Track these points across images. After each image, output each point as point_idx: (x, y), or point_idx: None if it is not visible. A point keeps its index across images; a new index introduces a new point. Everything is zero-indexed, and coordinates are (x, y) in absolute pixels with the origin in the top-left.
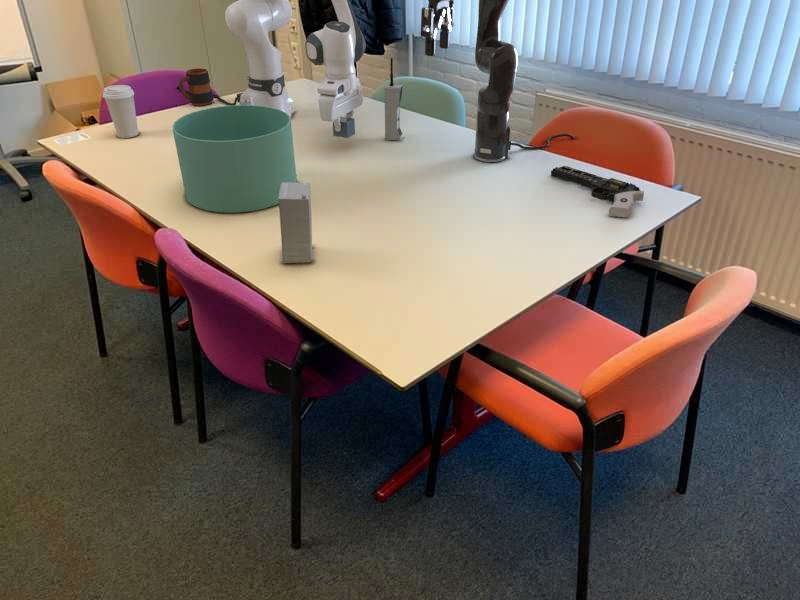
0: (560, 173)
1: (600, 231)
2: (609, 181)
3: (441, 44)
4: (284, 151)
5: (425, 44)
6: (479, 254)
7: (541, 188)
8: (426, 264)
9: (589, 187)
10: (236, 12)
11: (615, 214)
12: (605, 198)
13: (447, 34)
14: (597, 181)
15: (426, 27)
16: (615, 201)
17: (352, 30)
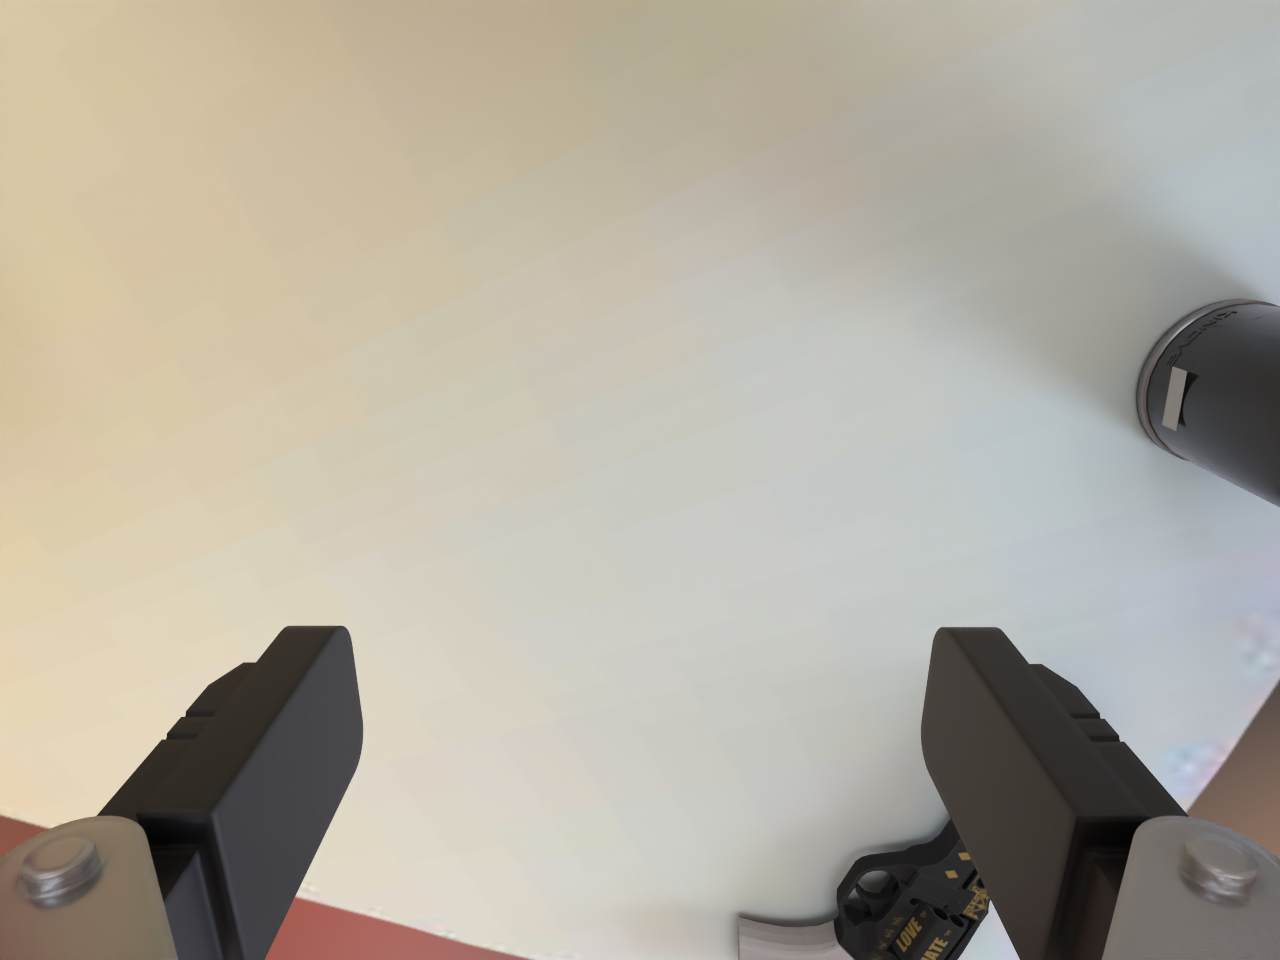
0: None
1: (613, 908)
2: (931, 927)
3: (954, 681)
4: None
5: (206, 727)
6: (254, 649)
7: (897, 684)
8: (80, 522)
9: (938, 839)
10: None
11: (738, 935)
12: (838, 904)
13: (1020, 930)
14: (948, 880)
15: None
16: (790, 948)
17: None
